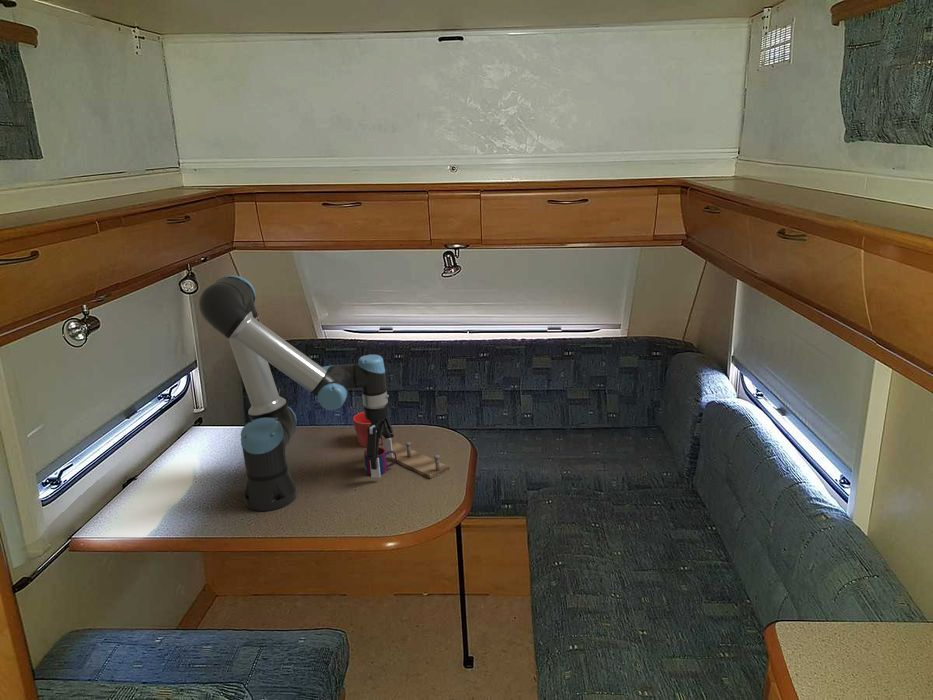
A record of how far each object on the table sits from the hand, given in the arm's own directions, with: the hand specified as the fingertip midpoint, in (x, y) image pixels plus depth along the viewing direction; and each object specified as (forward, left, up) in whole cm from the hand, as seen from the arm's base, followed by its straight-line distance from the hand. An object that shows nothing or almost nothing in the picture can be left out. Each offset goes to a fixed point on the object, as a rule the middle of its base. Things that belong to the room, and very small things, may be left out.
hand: (382, 467), depth 214 cm
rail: (+7, +8, -1) cm, 10 cm away
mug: (0, 0, -2) cm, 2 cm away
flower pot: (-10, +20, -1) cm, 23 cm away
